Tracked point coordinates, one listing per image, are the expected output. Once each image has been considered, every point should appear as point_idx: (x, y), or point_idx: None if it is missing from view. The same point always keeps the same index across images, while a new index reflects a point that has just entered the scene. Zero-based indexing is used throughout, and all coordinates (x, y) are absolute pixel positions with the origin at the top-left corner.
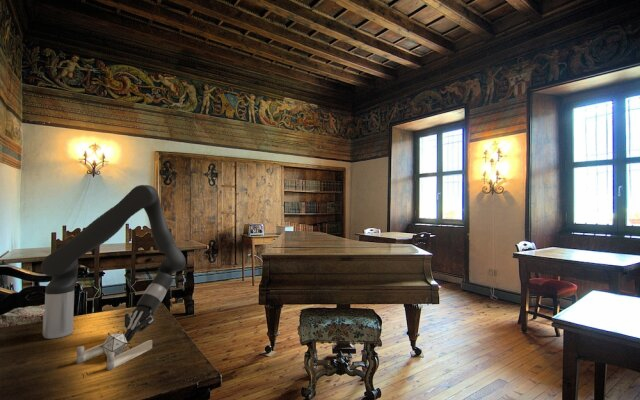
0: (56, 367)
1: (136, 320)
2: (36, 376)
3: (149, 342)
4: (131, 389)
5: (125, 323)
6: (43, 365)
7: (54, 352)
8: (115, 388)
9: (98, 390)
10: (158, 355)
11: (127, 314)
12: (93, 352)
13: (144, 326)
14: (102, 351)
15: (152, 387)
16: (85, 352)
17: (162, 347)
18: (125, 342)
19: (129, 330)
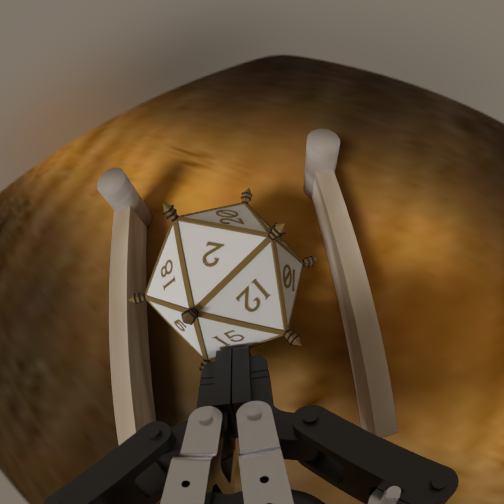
0: (346, 137)
1: (191, 476)
2: (324, 95)
3: (121, 440)
4: (14, 195)
5: (337, 425)
6: (399, 130)
7: (493, 196)
8: (47, 175)
9: (78, 148)
10: (59, 395)
11: (428, 495)
12: (326, 228)
13: (145, 486)
14: (336, 286)
15: None
16: (316, 179)
17: None
18: (147, 298)
19: (228, 398)
